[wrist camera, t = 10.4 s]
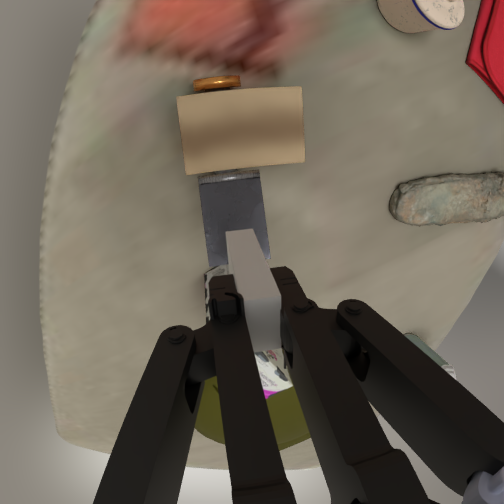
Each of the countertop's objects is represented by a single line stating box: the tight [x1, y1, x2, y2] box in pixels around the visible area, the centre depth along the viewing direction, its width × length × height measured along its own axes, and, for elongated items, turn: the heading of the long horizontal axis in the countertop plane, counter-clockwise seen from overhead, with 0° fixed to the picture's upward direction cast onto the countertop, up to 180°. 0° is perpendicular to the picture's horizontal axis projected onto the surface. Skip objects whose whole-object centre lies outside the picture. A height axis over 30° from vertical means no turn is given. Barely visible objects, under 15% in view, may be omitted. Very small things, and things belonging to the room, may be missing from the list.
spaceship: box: [195, 350, 311, 451], centre depth 57 cm, size 35×31×10 cm
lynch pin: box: [193, 76, 241, 175], centre depth 34 cm, size 13×5×5 cm, turn 4°
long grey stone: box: [390, 172, 504, 226], centre depth 45 cm, size 35×5×10 cm
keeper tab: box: [198, 170, 271, 267], centre depth 31 cm, size 9×6×1 cm
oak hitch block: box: [176, 86, 305, 175], centre depth 33 cm, size 8×12×8 cm, turn 94°
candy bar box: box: [204, 264, 293, 399], centre depth 41 cm, size 11×5×16 cm, turn 32°
